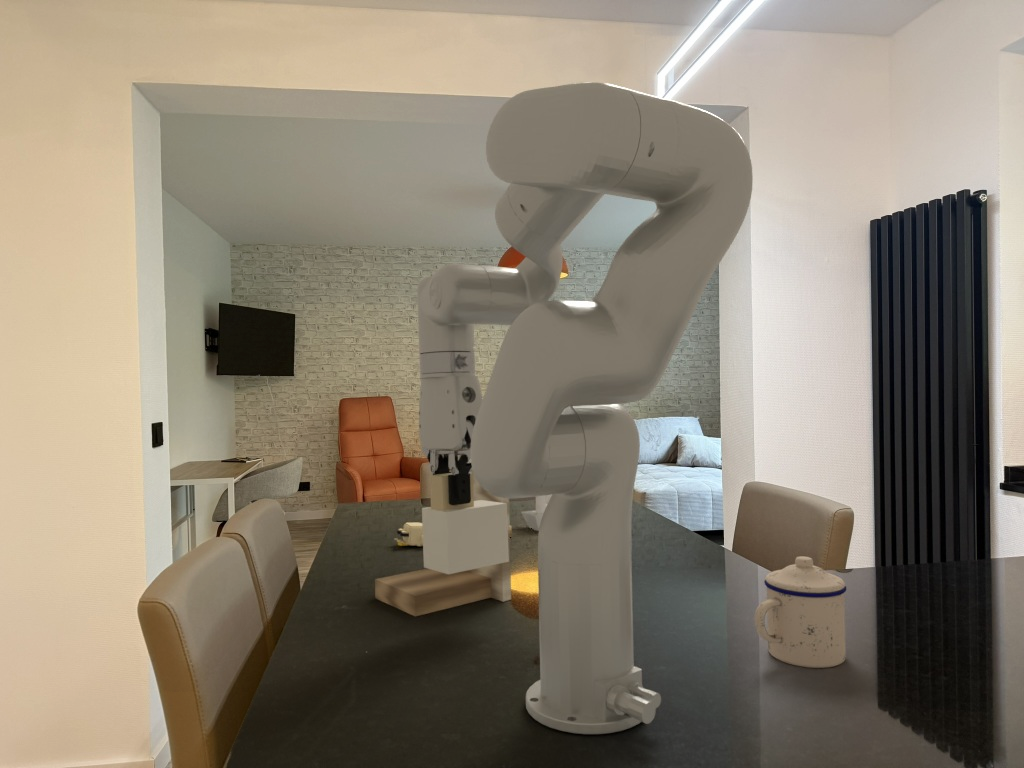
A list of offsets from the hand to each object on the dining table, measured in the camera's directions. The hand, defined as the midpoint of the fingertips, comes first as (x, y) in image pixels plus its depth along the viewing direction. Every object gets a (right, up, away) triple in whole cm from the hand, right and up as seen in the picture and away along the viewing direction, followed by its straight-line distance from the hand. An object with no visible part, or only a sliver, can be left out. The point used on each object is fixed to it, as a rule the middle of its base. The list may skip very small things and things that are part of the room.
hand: (452, 501), depth 97 cm
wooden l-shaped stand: (-4, -18, +16) cm, 24 cm away
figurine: (+15, -18, +68) cm, 72 cm away
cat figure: (-4, -18, +56) cm, 59 cm away
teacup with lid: (+42, -17, -12) cm, 47 cm away
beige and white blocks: (+2, -9, +1) cm, 9 cm away
